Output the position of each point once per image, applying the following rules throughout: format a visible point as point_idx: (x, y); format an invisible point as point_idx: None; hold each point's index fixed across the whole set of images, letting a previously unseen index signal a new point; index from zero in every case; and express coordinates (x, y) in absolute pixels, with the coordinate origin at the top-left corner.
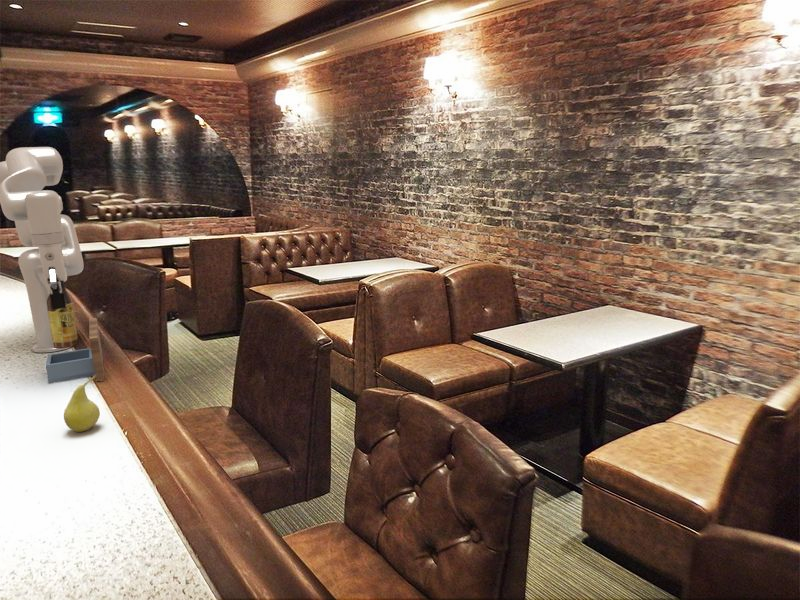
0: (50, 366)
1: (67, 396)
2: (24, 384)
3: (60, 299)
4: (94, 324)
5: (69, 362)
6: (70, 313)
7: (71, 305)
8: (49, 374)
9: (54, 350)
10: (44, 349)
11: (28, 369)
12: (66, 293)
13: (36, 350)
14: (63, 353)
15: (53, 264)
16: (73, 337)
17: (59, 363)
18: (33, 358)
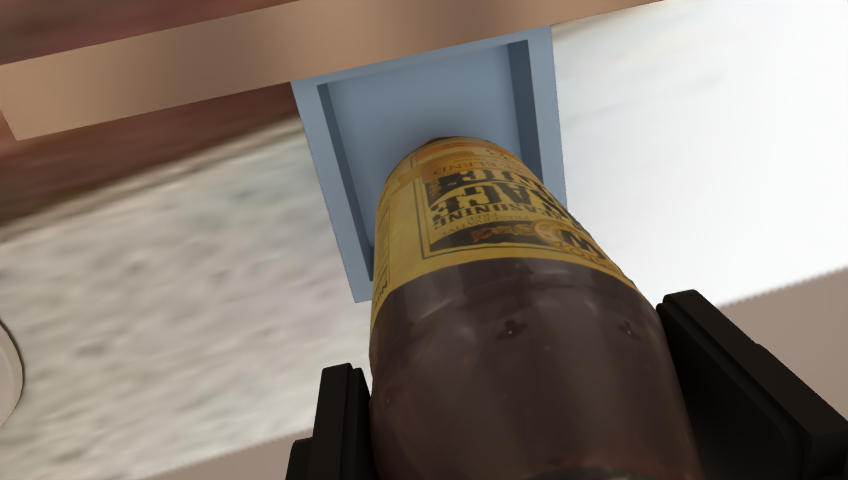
0: None
1: (774, 87)
2: None
3: (812, 393)
4: (280, 30)
5: (560, 145)
6: (573, 224)
7: (568, 247)
8: None
9: (5, 337)
10: (11, 383)
11: (287, 362)
12: (607, 404)
13: (7, 416)
14: (354, 226)
15: None
16: (515, 157)
17: (565, 194)
18: (109, 394)
